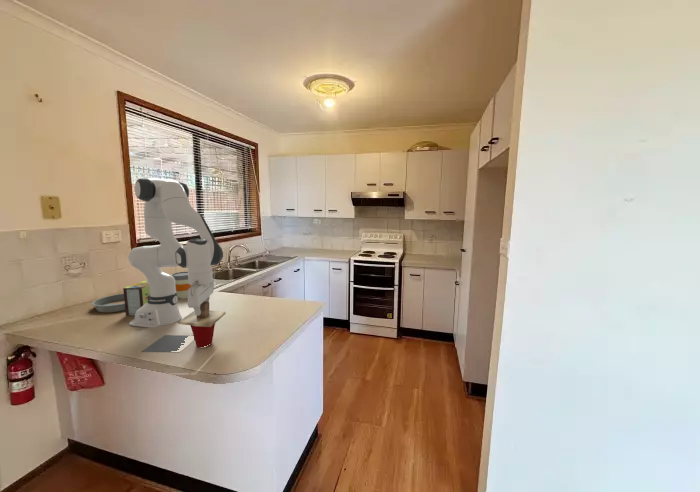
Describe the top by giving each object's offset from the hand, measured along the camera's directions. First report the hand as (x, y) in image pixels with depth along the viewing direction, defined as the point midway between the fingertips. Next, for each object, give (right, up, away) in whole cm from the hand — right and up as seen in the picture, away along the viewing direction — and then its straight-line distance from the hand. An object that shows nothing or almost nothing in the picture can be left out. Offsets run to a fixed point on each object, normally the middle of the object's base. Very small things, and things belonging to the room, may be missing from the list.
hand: (202, 310), depth 120 cm
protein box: (-53, -10, +41) cm, 68 cm away
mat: (-15, -15, +3) cm, 21 cm away
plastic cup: (0, -16, +2) cm, 16 cm away
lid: (0, -4, +1) cm, 4 cm away
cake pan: (-73, -9, +49) cm, 89 cm away
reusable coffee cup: (-46, -6, +68) cm, 82 cm away
